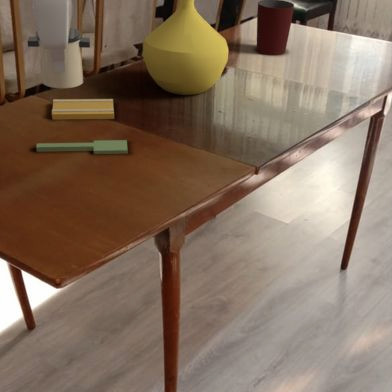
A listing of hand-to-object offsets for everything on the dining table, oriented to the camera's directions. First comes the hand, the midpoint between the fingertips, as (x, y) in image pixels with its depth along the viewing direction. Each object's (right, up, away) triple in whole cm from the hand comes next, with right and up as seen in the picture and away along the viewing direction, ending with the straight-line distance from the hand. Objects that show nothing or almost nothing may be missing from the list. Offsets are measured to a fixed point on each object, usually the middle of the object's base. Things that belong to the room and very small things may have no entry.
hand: (61, 63), depth 97 cm
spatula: (0, -9, +16) cm, 18 cm away
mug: (+41, +33, +66) cm, 84 cm away
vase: (+18, +14, +42) cm, 48 cm away
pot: (0, -2, +2) cm, 3 cm away
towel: (-2, +3, +29) cm, 29 cm away
